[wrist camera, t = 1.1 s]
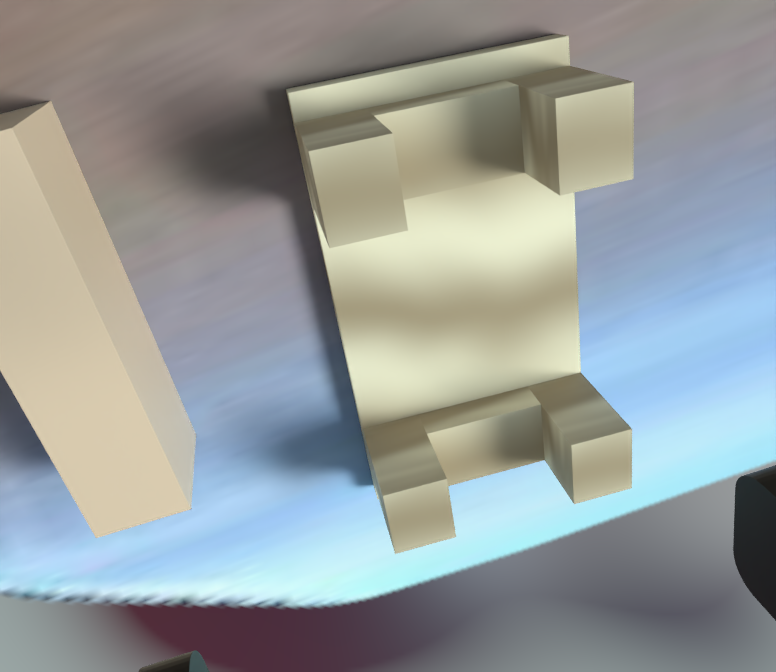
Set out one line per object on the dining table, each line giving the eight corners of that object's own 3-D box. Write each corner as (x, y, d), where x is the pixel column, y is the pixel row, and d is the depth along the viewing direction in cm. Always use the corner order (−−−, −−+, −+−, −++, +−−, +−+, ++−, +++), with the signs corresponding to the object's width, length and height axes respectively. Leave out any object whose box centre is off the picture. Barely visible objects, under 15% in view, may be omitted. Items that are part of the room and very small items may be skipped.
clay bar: (-54, 127, 23) (-120, 161, 19) (52, 99, 23) (12, 128, 19) (115, 456, 30) (96, 537, 25) (196, 432, 30) (190, 508, 26)
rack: (285, 89, 24) (300, 115, 20) (556, 33, 26) (633, 46, 21) (373, 485, 33) (398, 571, 28) (574, 432, 34) (631, 506, 29)
